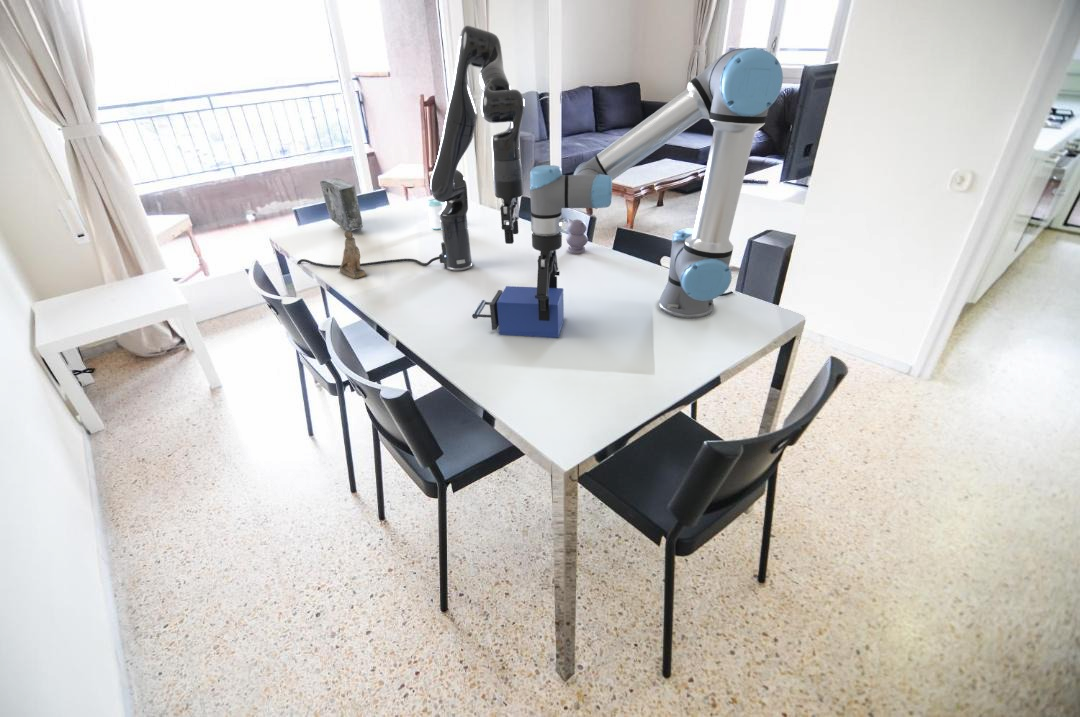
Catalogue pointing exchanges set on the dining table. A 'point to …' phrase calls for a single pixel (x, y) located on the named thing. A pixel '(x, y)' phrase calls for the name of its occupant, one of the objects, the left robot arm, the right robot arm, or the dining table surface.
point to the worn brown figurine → (351, 258)
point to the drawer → (492, 310)
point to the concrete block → (342, 203)
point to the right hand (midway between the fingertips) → (548, 308)
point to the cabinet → (529, 312)
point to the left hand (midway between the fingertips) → (512, 238)
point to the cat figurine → (576, 236)
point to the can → (434, 213)
